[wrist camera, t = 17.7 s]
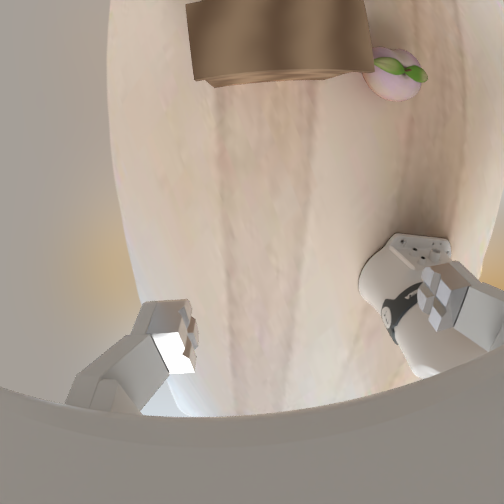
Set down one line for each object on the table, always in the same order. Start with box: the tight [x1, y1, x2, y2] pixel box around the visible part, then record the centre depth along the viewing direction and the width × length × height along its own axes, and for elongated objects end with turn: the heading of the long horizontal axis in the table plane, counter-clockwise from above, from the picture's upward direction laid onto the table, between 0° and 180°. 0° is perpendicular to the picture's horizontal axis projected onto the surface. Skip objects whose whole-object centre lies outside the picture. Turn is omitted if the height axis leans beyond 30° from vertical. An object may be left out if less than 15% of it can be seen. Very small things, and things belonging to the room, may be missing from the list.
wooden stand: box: [186, 0, 375, 88], centre depth 23 cm, size 17×22×16 cm
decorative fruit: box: [362, 47, 428, 101], centre depth 30 cm, size 9×8×10 cm
